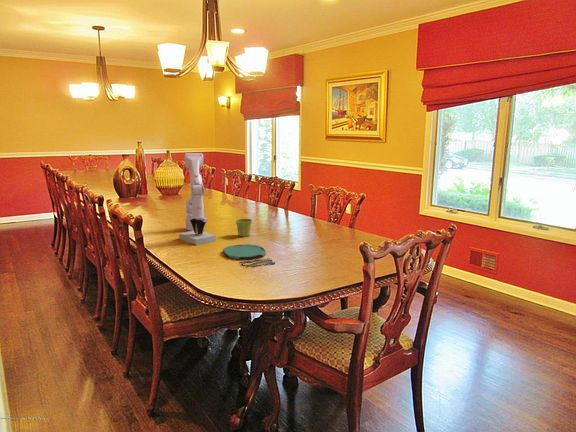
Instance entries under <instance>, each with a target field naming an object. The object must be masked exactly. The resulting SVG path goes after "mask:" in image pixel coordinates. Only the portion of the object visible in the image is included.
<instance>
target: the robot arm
mask: <svg viewBox="0 0 576 432" xmlns="http://www.w3.org/2000/svg"><path fill="white" fill-rule="evenodd" d="M203 165H204V154H203V153H202V152H200V153H198V152H197V153H196V152H195V153H193V152H189V153H188V152H185V153H184V166H185V168H187V169H188V171H189V178H190V180H189V181H190V183H189V185H190V187H189V189H190V197H189V198H188V199H187V200H186V201H185V213H186V216H185V227H184V229H185V230H188V231H189V232H190V231H194V233H196V225H197V229H198V234H202V233H203V232H204V230H206V229H205V226H206V224H207V223H208V222H209V221H208V219H209V218H208V217H206V216H205V214H204V213H205V206H204V195H205V186H204V183H203V178H202V175H201V173H200V168H202V167H203Z"/></svg>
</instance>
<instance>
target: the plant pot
mask: <svg viewBox="0 0 576 432" xmlns="http://www.w3.org/2000/svg"><path fill="white" fill-rule="evenodd" d="M234 221H235V223H236V226H237V234H238V237H242V238H244V237H245V238H246V237H249V236H250V235H251V227H252V222H253V219H251V218H238V219H235V220H234Z"/></svg>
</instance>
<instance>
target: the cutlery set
mask: <svg viewBox="0 0 576 432" xmlns="http://www.w3.org/2000/svg"><path fill="white" fill-rule="evenodd" d="M222 252H223V255H225V256H226V257H229V258H230V259H233V260H238V259H245V260H242V261H240V262H238V264H240V265H241V266H243V265H242V264H244V265H246V264H245V263H253V264H249V266H248V267H251V268H256V267H258V266H259V267H260V266H261V265H264V266H269V265H268V264H271V265H276V261H273V259H271V258H269V257H268V258H263V259H262V258H261V259H260V258H257V257H261V256H262V257H263V256H264V257H265V256H266V254H267V252H266V250H265V248H264V247H262V246H259V245H256V244H251V243H246V244H236V245H228V246H225V247H224V248H222ZM253 258H257V259H254V260H253ZM246 259H251V260H246ZM266 259H267V260H266ZM269 259H270V260H269ZM259 260H260V261H259ZM250 261H253V262H250ZM255 261H256V262H255ZM269 261H270V262H269ZM242 262H245V263H242ZM255 263H256V264H255ZM255 266H256V267H255ZM261 267H262V266H261Z"/></svg>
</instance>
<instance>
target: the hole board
mask: <svg viewBox="0 0 576 432" xmlns="http://www.w3.org/2000/svg"><path fill="white" fill-rule="evenodd" d="M178 237H179V238H178V239H179V240H181V241H183V242H185V243H189V244H192V245H195V246H199V245H200V246H201V245H205V244H208V242H209V243H213V241H214V242H216V241H217V235H216V234H213V233H210V232H207V231H203V233H202V235H201V236H196V233H194V231H190V230H189V231H185V232H180V233H178ZM204 243H205V244H204Z"/></svg>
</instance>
